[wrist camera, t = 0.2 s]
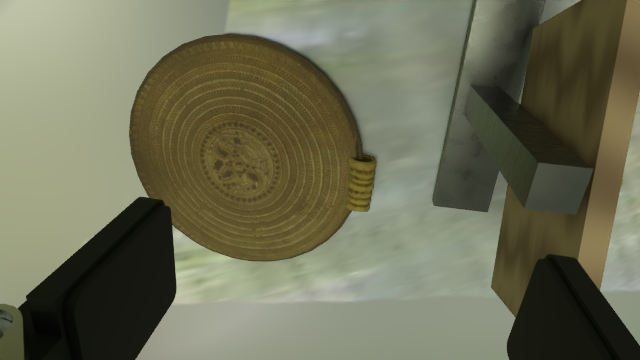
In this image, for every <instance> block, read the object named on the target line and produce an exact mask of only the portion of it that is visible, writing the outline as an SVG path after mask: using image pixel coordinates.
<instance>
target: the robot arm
mask: <svg viewBox="0 0 640 360" xmlns="http://www.w3.org/2000/svg"><path fill="white" fill-rule="evenodd" d="M175 295H176V274H175V260H174V246H173V232H172V217H171V209H170V207H169V206H165V203H164V201H163V200H161V199H154V198H146V197H139V198H137V199H136V200H135V201H134V202H133V203H132V204H130V205H129V206H128V207H127V208H126V209H125V210H124V211H122V212H121V213H120V214H119V215H118V216H117V217H116V218H114V219H113V220H112V221H111V222H110V223H109V224H108V225H106V226H105V227H104V228H103V229H102V230H101V231H100V232H98V233H97V234H96V235H95V236H94V237H93V238H92V239H90V240H89V241H88V242H87V243H86V244H85V245H84V246H82V247H81V248H80V249H79V250H78V251H77V252H76V253H75V254H73V256H71V257H70V258H69V259H68V260H67V261H65V262H64V263H63V264H62V265H61V266H60V267H59V268H58V269H56V270H55V271H54V272H53V273H52V274H51V275H50V276H48V277H47V278H46V279H45V280H44V281H43V282H42V283H40V285H38V286H37V287H36V288H35V289H34V290H32V291H31V292H30V293H29V294H28V295H27V296H26V298H27V301H25V302H24V303H23V304H22V305H21V306H20V307H19V308H18V309H17V308H16V307H14V306H10V305H7V304H0V360H135V359H136V358H137V356H138V354H139V353H140V351H141V350H142V348H143V347H144V345H145V344H146V342H147V341H148V339H149V338H150V336H151V335H152V333H153V332H154V330H155V328H156V327H157V325H158V324H159V322H160V321H161V319H162V317H163V316H164V315H165V313H166V312H167V310H168V309H169V307H170V305H171V304H172V302H173V300H174V298H175ZM507 353H508V357H509V360H640V346H639V344H638V343H637V341H636V340H635V339H634V337H633V336H632V334H631V333H630V332H629V330H628V329H627V328H626V326H625V325H624V324H623V322H622V321H621V319H620V318H619V317H618V315H617V314H616V313H615V311H614V310H613V308H612V307H611V306H610V304H609V303H608V301H607V300H606V299H605V298H604V296H603V295H602V293H601V292H600V290H599V289H598V288H597V286H596V285H595V284H594V282H593V281H592V279H591V278H590V277H589V275H588V274H587V273H586V271H585V270H584V268H583V267H582V266H581V264H580V263H579V262H578V260H577V259H576V258H574V257H568V256H561V255H554V254H548V255H546V257H545V258H544V259H538V260H537V262H536V264H535V267H534V270H533V272H532V275H531V278H530V280H529V283H528V286H527V289H526V291H525V294H524V297H523V300H522V302H521V305H520V308H519V311H518V313H517V316H516V319H515V321H514V324H513V327H512V330H511V333H510V335H509V338H508V341H507Z"/></svg>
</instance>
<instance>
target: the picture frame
mask: <svg viewBox="0 0 640 360" xmlns="http://www.w3.org/2000/svg"><path fill="white" fill-rule="evenodd" d="M639 91H640V0H581V1H579V2H578V3H576V4H574V5H573V6H571V7H569V8H567V9H566V10H564V11H562V12H561V13H559V14H557V15H556V16H554V17H552V18H550V19H549V20H547V21H545V22H544V23H542V24H540V25H538V26H537V27H535V28H533V34H532V40H531V46H530V52H529V58H528V64H527V71H526V77H525V83H524V89H523V95H522V101H521V106H522V107H523V108H524V109H525V110H527V111H528V112H529V113H530V114H531V115H532V116H534V117H535V118H536V119H537V120H538V121H539V122H540V123H542V124H543V125H544V126H545V127H546V128H547V129H549V130H550V131H551V132H552V133H553V134H554V135H555V136H557V137H558V138H559V139H560V140H561V141H562V142H563V143H565V144H566V145H567V146H568V147H569V148H570V149H572V150H573V151H574V152H575V153H576V154H577V155H578V156H580V157H581V158H582V159H583V160H584V161H585V162H586V163H588V164H589V165H590V166H591V167H592V168H593V172H592V174H591V177H590V180H589V182H588V185H587V188H586V190H585V193H584V195H583V198H582V201H581V203H580V206H579V209H578V211H577V214H576V215H574V214H565V213H557V212H548V211H540V210H531V209H524V208H523V206H522V205H521V203H520V201H519V200H518V198H517V197H516V195H515V194H514V192H513V190H512V189H511V187H510V186H509V184H508V186H507V192H506V199H505V205H504V211H503V217H502V223H501V229H500V235H499V241H498V247H497V253H496V259H495V266H494V272H493V278H492V284H491V288H492V289H493V290H494V292H495V293H496V294H497V295H498V296H499V298H500V299H501V300H502V301H503V303H504V304H505V305H506V306H507V308H508V309H509V310H510V311H511V312H512V314H513V315H514V316H515V317H516V316H517V313H518V311H519V308H520V305H521V302H522V300H523V297H524V294H525V291H526V289H527V286H528V283H529V280H530V278H531V275H532V272H533V270H534V267H535V264H536V262H537V260H538V259H544V258H545V257H546V255H548V254H554V255H561V256H568V257H574V258H576V259H577V260H578V262H579V263H580V264H581V266H582V267H583V268H584V270H585V271H586V273H587V274H588V275H589V277H590V278H591V279H592V281H593V282H594V284H595V285H596V286H597V288H598V289H599V290H600V287H601V282H602V277H603V272H604V267H605V262H606V257H607V252H608V247H609V242H610V237H611V232H612V227H613V222H614V217H615V212H616V207H617V202H618V197H619V192H620V189H621V187H622V177H623V172H624V167H625V162H626V157H627V152H628V147H629V141H630V136H631V131H632V126H633V121H634V116H635V111H636V106H637V101H638V96H639Z"/></svg>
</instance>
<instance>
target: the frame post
mask: <svg viewBox="0 0 640 360" xmlns="http://www.w3.org/2000/svg"><path fill="white" fill-rule="evenodd" d="M544 4H545V0H474V2H473V6H472V11H471V16H470V21H469V26H468V30H467V35H466V40H465V45H464V50H463V55H462V59H461V64H460V69H459V74H458V79H457V84H456V88H455V93H454V98H453V103H452V108H451V113H450V117H449V122H448V127H447V132H446V137H445V142H444V146H443V151H442V156H441V161H440V166H439V171H438V175H437V180H436V185H435V190H434V195H433V199H432V200H433V204H434V206H440V207H448V208H457V209H465V210H473V211H482V212H488V209H489V205H490V201H491V198H492V194H493V190H494V187H495V183H496V179H497V176H498V172H499V170H500V172H501V173H502V175H503V176H504V178H505V180H506V181H507V183H508V184H509V186H510V187H511V189H512V190H513V192H514V194H515V195H516V197H517V198H518V200H519V201H520V203H521V205H522V206H523V208H524V209H531V210H540V211H548V212H557V213H565V214H574V215H576V214H577V211H578V209H579V206H580V203H581V201H582V198H583V195H584V193H585V190H586V188H587V185H588V182H589V180H590V177H591V174H592V172H593V168H592V167H591V166H590V165H589V164H588V163H586V162H585V161H584V160H583V159H582V158H581V157H580V156H578V155H577V154H576V153H575V152H574V151H573V150H572V149H570V148H569V147H568V146H567V145H566V144H565V143H563V142H562V141H561V140H560V139H559V138H558V137H557V136H555V135H554V134H553V133H552V132H551V131H550V130H549V129H547V128H546V127H545V126H544V125H543V124H542V123H540V122H539V121H538V120H537V119H536V118H535V117H534V116H532V115H531V114H530V113H529V112H528V111H527V110H525V109H524V108H523V107H522V106H521V105H520V104H519V103H518V99H519V95H520V92H521V88H522V84H523V81H524V77H525V73H526V70H527V64H528V58H529V52H530V46H531V40H532V34H533V28H535V27H537V26H538V25H539V22H540V19H541V15H542V11H543V8H544Z"/></svg>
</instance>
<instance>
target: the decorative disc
mask: <svg viewBox="0 0 640 360" xmlns="http://www.w3.org/2000/svg"><path fill="white" fill-rule="evenodd" d="M129 137H130V146H131V155H132V158H133V160H134V164H135V167H136V171H137V174H138V176H139V179H140V181H141V183H142V185H143V187H144V189H145V191H146V193H147V195H148V196H149V198H154V199H161V200H163V201H164V203H165V206H169V207H170V209H171V217H172V225H173V226H174V227H175V228H177V229H178V230H179V231H181V232H182V233H183V234H185V235H186V236H187V237H189V238H190V239H191V240H193V241H194V242H196V243H198V244H200V245H201V246H203V247H205V248H207V249H210V250H212V251H214V252H217V253H220V254H223V255H226V256H229V257H231V258H236V259H242V260H248V261H277V260H283V259H289V258H293V257H296V256H299V255H301V254H304V253H307V252H309V251H311V250H313V249H315V248H316V247H318V246H319V245H321V244H323V243H324V242H326V241H327V240H328V239H329V238H330V237H331V236H333V235H334V234H335V233H336V232H337V231H338V230H339V229H340V228H341V227H342V225H343V224H344V222H345V221H346V219H347V218H348V216H349V215H350V213H351V212H352V211H360V212H368V210H369V209H370V204H369V203H370V201H371V195H372V189H373V187H374V185H373V180H374V175H375V172H374V170H375V168H376V163H377V162H376V161H375V160H374V158H372V157H369V156H366V155H362V144H361V141H360V137H359V134H358V130H357V127H356V123H355V120H354V118H353V116H352V114H351V112H350V110H349V109H348V107H347V105H346V103H345V101H344V99H343V97H342V96H341V95H340V93H339V92H338V91H337V90H336V88H335V87H334V86H333V85H332V83H331V82H330V81H329V80H328V78H327V77H326V76H325V75H324V74H323V73H321V72H320V71H319V70H318V69H317V68H316V67H314V66H313V65H312V64H311V63H310V62H309V61H307V60H306V59H305V58H303V57H301V56H300V55H298V54H296V53H294V52H293V51H291V50H289V49H287V48H286V47H284V46H282V45H279V44H276V43H273V42H270V41H267V40H264V39H261V38H258V37H254V36H245V35H236V34H224V35H214V36H205V37H202V38H199V39H196V40H193V41H190V42H188V43H185V44H182V45H181V46H179V47H177V48H176V49H174V50H173V51H171V52H170V53H168V54H167V55H165V56H164V57H162V58H161V60H160V61H159V62H158V63H157V64H156V65H155V66H154V67H153V68H152V69H151V70H150V71H149V72H148V74H147V75H146V77H145V79H144V81H143V82H142V84H141V86H140V87H139V89H138V91H137V94H136V97H135V100H134V104H133V107H132V110H131V118H130V130H129Z"/></svg>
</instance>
